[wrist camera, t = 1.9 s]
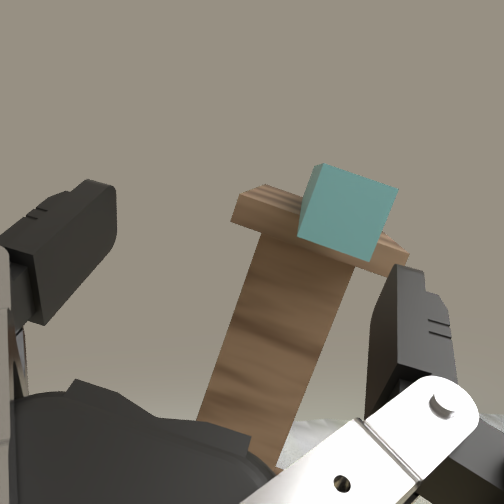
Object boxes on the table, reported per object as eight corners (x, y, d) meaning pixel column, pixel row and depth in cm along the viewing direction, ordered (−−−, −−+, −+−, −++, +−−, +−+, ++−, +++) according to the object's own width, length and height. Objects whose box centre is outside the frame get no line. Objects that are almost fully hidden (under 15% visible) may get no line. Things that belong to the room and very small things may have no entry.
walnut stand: (277, 632, 37) (438, 264, 31) (92, 557, 38) (211, 184, 31) (287, 472, 57) (387, 227, 50) (165, 425, 58) (248, 178, 51)
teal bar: (369, 262, 21) (398, 189, 21) (296, 236, 21) (323, 163, 21) (335, 211, 47) (347, 177, 46) (302, 199, 47) (314, 166, 46)
